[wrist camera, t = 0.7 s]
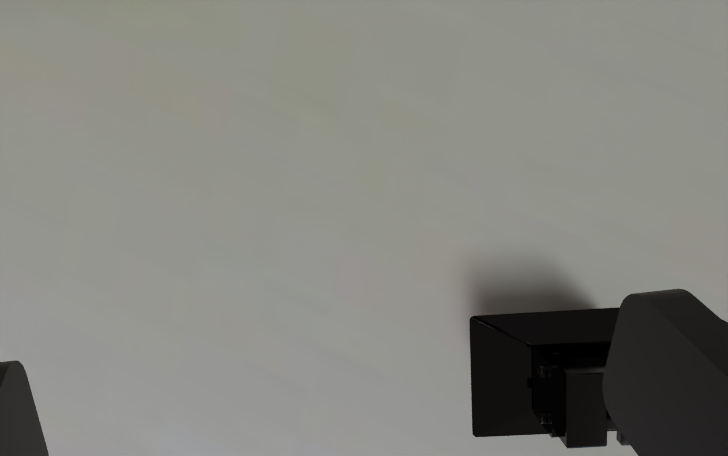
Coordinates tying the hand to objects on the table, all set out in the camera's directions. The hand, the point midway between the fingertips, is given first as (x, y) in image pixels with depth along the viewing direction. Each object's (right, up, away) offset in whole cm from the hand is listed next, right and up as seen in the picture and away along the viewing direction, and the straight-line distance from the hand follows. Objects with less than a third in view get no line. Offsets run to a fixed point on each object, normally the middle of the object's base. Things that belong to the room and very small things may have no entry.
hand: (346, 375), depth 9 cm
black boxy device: (+9, -4, +20) cm, 23 cm away
